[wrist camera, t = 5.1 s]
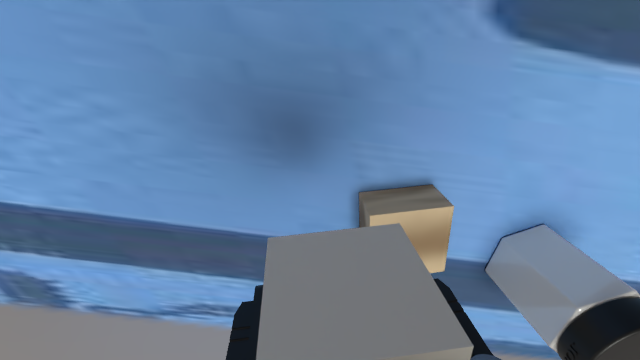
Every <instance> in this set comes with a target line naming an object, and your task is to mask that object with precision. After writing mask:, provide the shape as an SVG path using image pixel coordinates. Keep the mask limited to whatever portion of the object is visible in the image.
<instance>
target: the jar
mask: <svg viewBox="0 0 640 360" xmlns="http://www.w3.org/2000/svg"><path fill="white" fill-rule="evenodd" d="M485 271H486V273H487V274H488V275H489V276H490V277H491V279H492V280H493V281H494V282H495V283H496V284H497V286H498V287H499V288H500V289H501V290H502V292H503V293H504V294H505V295H506V296H507V297H508V299H509V300H510V301H511V302H512V303H513V304H514V306H515V307H516V308H517V309H518V310H519V312H520V313H521V314H522V315H523V317H524V318H525V319H526V320H527V321H528V322H529V323H530V324H531V326H532V327H533V328H534V329H535V330H536V332H537V333H538V334H539V335H540V336H541V337H542V339H543V340H544V341H545V342H546V343H547V345H548V346H549V347H550V348H552V349H553V350H554V351H556V352H557V353H558V354H559V356H560V358H561V359H562V360H640V294H639V293H638V292H637V291H636V290H635V289H633V288H632V287H631V286H629V285H628V284H626V283H625V282H624V281H622V280H621V279H619V278H618V277H617V276H615V275H614V274H612V273H611V272H610V271H608V270H607V269H606V268H604V267H603V266H601V265H600V264H599V263H597V262H596V261H594V260H593V259H592V258H590V257H589V256H588V255H586V254H585V253H583V252H582V251H581V250H579V249H578V248H577V247H575V246H574V245H572V244H571V243H570V242H568V241H567V240H565V239H564V238H563V237H561V236H560V235H559V234H557V233H556V232H554V231H553V230H552V229H550V228H549V227H547V226H546V225H540V226H537V227H534V228H531V229H528V230H525V231H522V232H519V233H516V234H513V235H510V236H507V237H504V238H502V239H501V241H500V243H499V245H498V247H497V249H496V250H495V252H494V254H493V256H492V258H491V260H490V262H489V263H488V265H487V267H486V269H485Z"/></svg>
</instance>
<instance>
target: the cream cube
mask: <svg viewBox="0 0 640 360" xmlns="http://www.w3.org/2000/svg"><path fill="white" fill-rule="evenodd" d="M473 347H474V346H473V344H472V343H471V341H470V339H469V338H468V336H467V334H466V333H465V331H464V329H463V328H462V326H461V324H460V323H459V321H458V319H457V318H456V316H455V314H454V313H453V311H452V309H451V308H450V306H449V304H448V303H447V301H446V299H445V298H444V296H443V294H442V293H441V291H440V289H439V288H438V286H437V284H436V283H435V281H434V279H433V278H432V276H431V274H430V273H429V271H428V269H427V268H426V266H425V265H424V263H423V261H422V260H421V258H420V256H419V255H418V253H417V251H416V250H415V248H414V246H413V245H412V243H411V241H410V240H409V238H408V236H407V235H406V233H405V231H404V230H403V228H402V226H401V225H400V223H397V224H388V225H379V226H370V227H361V228H352V229H343V230H334V231H325V232H317V233H308V234H299V235H290V236H281V237H272V238H268V244H267V254H266V264H265V274H264V284H263V294H262V304H261V314H260V324H259V334H258V344H257V354H256V360H470V358H471V355H472V351H473Z"/></svg>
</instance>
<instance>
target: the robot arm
mask: <svg viewBox="0 0 640 360" xmlns="http://www.w3.org/2000/svg"><path fill="white" fill-rule="evenodd" d="M434 281H435V283H436V284H437V286H438V288H439V289H440V291H441V293H442V294H443V296H444V298H445V299H446V301H447V303H448V304H449V306H450V308H451V309H452V311H453V313H454V314H455V316H456V318H457V319H458V321H459V323H460V324H461V326H462V328H463V329H464V331H465V333H466V334H467V336H468V338H469V339H470V341H471V343H472V344H473V346H474V347H473V351H472V355H471V358H470V360H501V359H499V358H497V357H495V356H494V355H493V354H492V353H491V351H490V350H489V349H488V347H487V346H486V344H485V342H484V341H483V339H482V338H481V336H480V335H479V333H478V332H477V330H476V328H475V327H474V325H473V324H472V322H471V321H470V319H469V318H468V316H467V314H466V313H465V312H464V310H463V308H462V307H461V305H460V304H459V302H457V299H456V297H455V296H454V294H453V293H452V291H451V290H450V288H449V287H448V286H446V285H445V284H444V283H443V282H441V281H440V280H439V279H434ZM262 294H263V285H259V286H256V287H255V293H254V301H248V302H242V304H241V305H240V307H239V308H238V310H237V311H236V313H235V315H234V320H233V325H232V331H231V335H230V343H229V346H228V351H227V356H226V360H256V354H257V344H258V334H259V324H260V314H261V304H262Z"/></svg>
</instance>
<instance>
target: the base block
mask: <svg viewBox="0 0 640 360" xmlns="http://www.w3.org/2000/svg"><path fill="white" fill-rule="evenodd" d="M453 209H454V206H453V205H452V204H451V203H450V202H449V201H448V200H447V199H446V198H445V197H444V196H443V195H442V194H441V193H440V192H439V191H438V190H437V189H436V188H435V187H434V186H433V185H423V186H414V187H405V188H396V189H387V190H378V191H369V192H360V193H359V224H360V228H361V227H370V226H379V225H388V224H397V223H400V225H401V226H402V228H403V230H404V231H405V233H406V235H407V236H408V238H409V240H410V241H411V243H412V245H413V246H414V248H415V250H416V251H417V253H418V255H419V256H420V258H421V260H422V261H423V263H424V265H425V266H426V268H427V269H428V271H429V273H434V272H442V271H444V269H445V263H446V256H447V249H448V243H449V236H450V229H451V223H452V216H453Z"/></svg>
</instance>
